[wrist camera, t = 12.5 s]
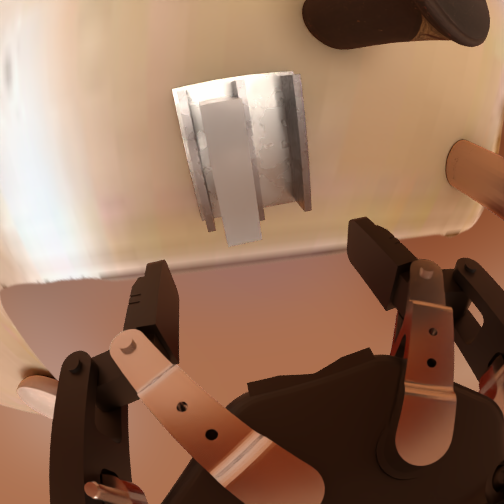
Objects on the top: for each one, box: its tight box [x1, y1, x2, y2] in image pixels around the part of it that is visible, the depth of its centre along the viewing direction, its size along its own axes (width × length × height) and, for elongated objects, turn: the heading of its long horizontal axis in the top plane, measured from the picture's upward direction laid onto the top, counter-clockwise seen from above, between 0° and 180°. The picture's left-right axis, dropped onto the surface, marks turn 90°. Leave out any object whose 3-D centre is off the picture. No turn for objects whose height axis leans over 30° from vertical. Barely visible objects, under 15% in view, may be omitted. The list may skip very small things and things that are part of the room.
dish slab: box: [199, 96, 262, 247], centre depth 25 cm, size 3×12×10 cm, turn 8°
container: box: [303, 0, 490, 49], centre depth 14 cm, size 9×9×20 cm
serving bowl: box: [17, 375, 59, 420], centre depth 47 cm, size 21×21×7 cm
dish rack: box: [172, 71, 311, 232], centre depth 28 cm, size 13×16×5 cm
